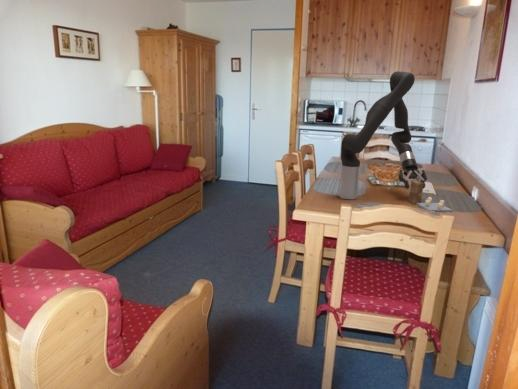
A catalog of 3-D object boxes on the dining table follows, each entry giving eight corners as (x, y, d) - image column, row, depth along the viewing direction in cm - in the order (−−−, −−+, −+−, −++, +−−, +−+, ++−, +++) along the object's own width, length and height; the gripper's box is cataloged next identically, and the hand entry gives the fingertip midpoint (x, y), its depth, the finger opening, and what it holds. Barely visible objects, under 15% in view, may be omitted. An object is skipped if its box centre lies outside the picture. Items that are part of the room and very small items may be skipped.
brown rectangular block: (414, 204, 205) (417, 183, 203) (408, 200, 211) (411, 180, 208) (420, 204, 206) (423, 183, 203) (414, 201, 212) (417, 180, 209)
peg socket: (428, 211, 193) (429, 203, 192) (416, 204, 205) (417, 197, 204) (452, 211, 194) (453, 204, 193) (438, 204, 206) (439, 197, 205)
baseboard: (434, 184, 254) (413, 182, 257) (434, 180, 253) (414, 178, 257) (438, 196, 225) (416, 194, 229) (439, 191, 225) (416, 189, 228)
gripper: (398, 157, 212) (405, 184, 204) (424, 158, 213) (432, 184, 205) (392, 165, 218) (399, 191, 210) (417, 166, 220) (425, 191, 212)
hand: (415, 187), depth 208 cm, fingers open, 8 cm apart
